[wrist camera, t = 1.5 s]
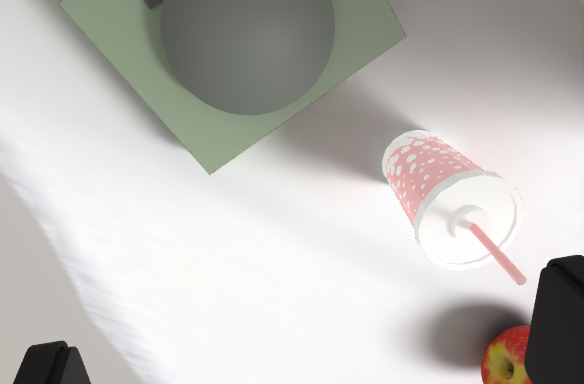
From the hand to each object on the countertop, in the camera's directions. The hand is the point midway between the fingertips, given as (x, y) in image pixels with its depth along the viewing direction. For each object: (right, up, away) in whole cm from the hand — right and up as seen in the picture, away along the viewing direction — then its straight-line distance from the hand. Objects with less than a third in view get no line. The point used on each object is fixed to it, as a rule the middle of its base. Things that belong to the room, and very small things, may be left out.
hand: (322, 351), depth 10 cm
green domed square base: (-4, +14, +19) cm, 24 cm away
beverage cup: (+8, +6, +26) cm, 27 cm away
